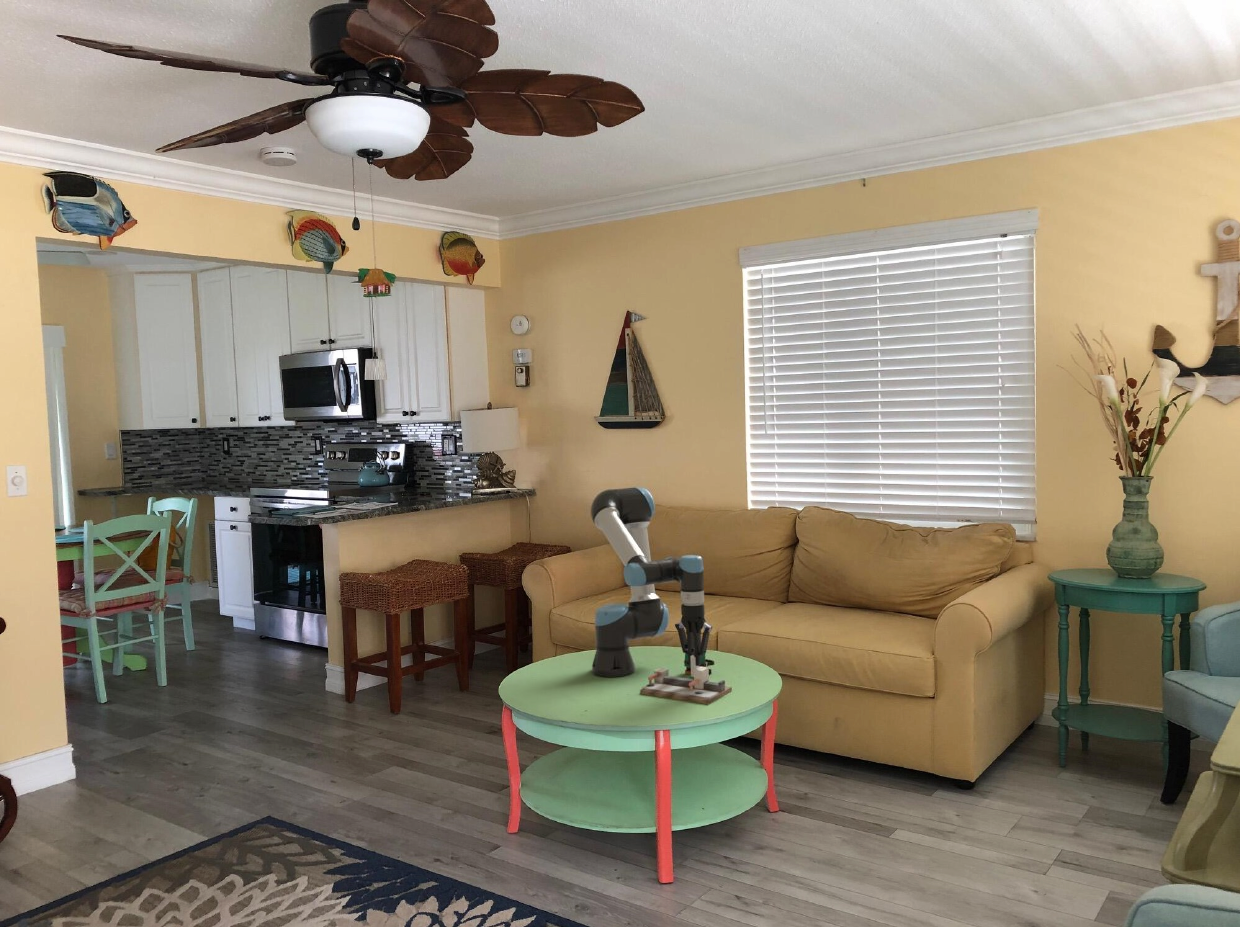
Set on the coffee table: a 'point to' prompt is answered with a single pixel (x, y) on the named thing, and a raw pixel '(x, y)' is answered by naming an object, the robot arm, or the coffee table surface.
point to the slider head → (700, 678)
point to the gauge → (683, 688)
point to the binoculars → (703, 664)
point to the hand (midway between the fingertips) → (695, 675)
